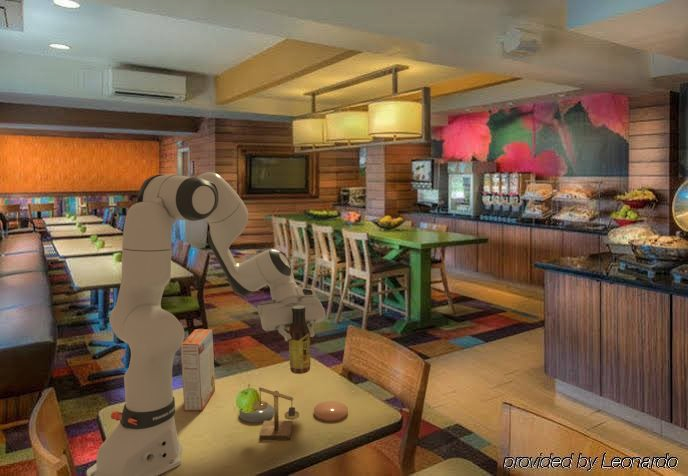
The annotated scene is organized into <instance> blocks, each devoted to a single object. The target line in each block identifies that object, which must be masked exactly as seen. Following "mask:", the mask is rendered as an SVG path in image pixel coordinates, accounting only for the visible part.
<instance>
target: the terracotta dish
mask: <svg viewBox="0 0 688 476" xmlns="http://www.w3.org/2000/svg"><path fill="white" fill-rule="evenodd" d="M348 414H349V408H348V406H347V405H346V404H344V403H342V402H340V401H333V400H332V401H331V400H329V401H328V400H327V401H323V402H322V401H321V402H320V403H318V404H316V405H315V406H314V408H313V415H314V417H315V418H317V419H319V420H321V421H323V422H325V421H326V422H335V421H336V422H337V421H341V420H343V419H345V418H347V416H348Z"/></svg>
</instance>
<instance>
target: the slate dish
mask: <svg viewBox="0 0 688 476" xmlns="http://www.w3.org/2000/svg"><path fill="white" fill-rule="evenodd" d="M239 418H240V420H241V421H242V422H245V423H249V424H260V423H264V421H271V420H272V419H273V418H274V406H272V405H271V404H269V403H268V407H267V408H265V409H262V410H256V411H254V412H252V413H244V412H242V411H241V409H240V410H239Z"/></svg>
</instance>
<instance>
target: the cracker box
mask: <svg viewBox="0 0 688 476" xmlns="http://www.w3.org/2000/svg"><path fill="white" fill-rule="evenodd" d="M213 339H214V337H213V329H212V328H211V329H206V328H205V329H204V328H203V329H202V328H198V329H195V328H194V330H193V331H192V332H191V333H190V334H189V336H187V338H186V339H184V340H183V343H182V345H181V347H180V357H181V358H180V359H181V360H180V361H181V374H182V375H181V376H182V392H183V394H182V395H183V407H184V411H187V412H188V411H195V412H196V411H197V412H201V411H203V410H204V409H205V408H206V405H207V404H208V402H209V401H210V400H211V397H212V396H213V395H214V393H215V391H216V383H215V381H216V380H215V379H216V377H215V364H214V363H215V361H214V359H215V358H214V340H213Z"/></svg>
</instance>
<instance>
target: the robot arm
mask: <svg viewBox="0 0 688 476" xmlns="http://www.w3.org/2000/svg"><path fill="white" fill-rule="evenodd" d="M178 220H179V221H191V222H195V221H200V220H201V221H202V220H206V222H207V224H208V226H209V230H208V232H207V233H206V234H207V240H208V244H209V246H210V248H211V251H212V252H213V254H214V256H215V258H216V260H217V262H218V263H219V265H220V267H221V269H222V271H223V273H224V274H225V277H226V279H227V280H228V284H229V286H230V288H231V291H233V292H234V294H236V295H238V296H241V297H246V298H247V297H249V296H250V295H252V294H254V293H256V292H257V291H258V290H260V289H262V288H264V287H266V286H268V287H269V290H270V291H269V292H270V293H269V294H270V298H271V300H268V301H260V303H258V304H257V306H256V310H257V313H258V315H259V317H260V324H261V328H262V330H264V331H265V332H271V331H276V330H277V332H278V333H279V334H280V335H281V336H282V337H283V338H284V341H285V342H289V341H290V340H291V339H292V337H291V334H290V333H289V332H287V331H286V330H285V329H289V328H290V326H291V325H292V322H293V320H292V319H293V313H292V307H293V306H297V305H302V306H305V310H306V311H305V321H306V324H307V326H308V328H309V332H310V338H311V337H312V338H313V337H314V336H315V335H316V333H315V331H314V330H315V329H314V328H315V324H319V323H320V324H321V323H322V322H323V321H324V319H326V315H327V314H326V311H325V308H324V306H323V304H322V302H321V300H320V298H318V297H316V295H317V293H316V291H315V289H312V288H305V287H301V286H298V284H297V282H296V281H295V277H294V273H293V270H292V266H291V263H290V261H289V258H288V257H287V256H286V254H285V253H284V252H283V251H281V250H278V249H275V248H269V249H267V250H264V251H263V252H260V253H258V254H256V255H255V256H251V258H249V259H247V260H244V261H242V262H236V259H235V258H234V256H233V254H232V252H231V250H230V247H231V245H232V244H233V242H235V241H236V239H237V238H239V236H241V235H242V233H243V232H244V231H245V228H246V227H247V225H248V222H249V210H248V208H247V206H246V204H245V202H244V201H243V200H242V198H241V197H240V195H239V194H238V193H237V192H236V190H235V189H234V188H233V186H231V184H229V182H227V181H226V179H224V178H223V177H222V176H220V175H219V174H218V173H216V172H213V171H211V172H210V171H207V172H203V173H201V174H199V175H198V176H196V177H195V176H193V177H192V176H187V175H181V174H156V175H152V176H151V177H147V179H145V180H144V181H143V183H142V184H141V186H140V189H139V192H138V197H137V200H136V203H134V204H132V205H131V206H130V207H128V209H127V212H126V216H125V219H124V226H123V231H122V246H121V247H122V248H121V250H122V253H121V254H122V255H121V279H120V284H119V285H120V287H119V291H118V293H117V294H118V295H117V299H116V303H115V306H114V307H113V308H112V310H111V312H110V314H109V320H108V321H109V326H110V327H111V330H112V332H113V333H114V335H115V336H116V338H118V339H119V340H120V341H123V342H124V343H125V344H127V345H128V347H129V349H130V360H129V366H128V369H127V370H125V373H124V375H123V379H124V381H123V382H124V385H123V386H124V400H125V403H124V406H123V409H122V412H121V411H118V410H113V411H112V412H111V414H110V418H111V419H112V420H115V421H116V422H118V421H119V423H118V425H117V426H116V427H115V428H114V430H113V431H112V432H111V433H110V435H109V436H108V437H107V438H106V439H105V440H104V441H103V442H102V444H101V445H100V446H99V448H98V450H97V453H96V462H95V463H94V464H93V465H91V466H90V467H89V468H88V469H87V470H86V474H85V475H86V476H159V475H161V474H164V473H166V472H168V471H170V470H172V469H174V468H176V467H178V466H179V465H181V464H182V461H181V455H182V452H183V447H182V444H181V443H180V438H179V434H178V431H177V426H176V419H175V414H176V400H175V396H173V395H174V394H173V393H174V391H173V365H174V361H175V356H176V353H177V352H178V351H179V350H180V349H181V345H182V343H183V342H184V341H185V328H184V326H183V324H182V323H181V322H180V320H178V318H177V317H176V316H175V315H174V314H173V313H172V312H170V311H168V310H165V309H163V308H162V304H161V303H162V297H163V294H164V291H165V288H166V286H167V285H168V284H169V282H170V281H171V278H172V277H171V276H172V275H171V274H172V271H171V270H172V229H173V226H174V225H175V224H174V223H176V221H178Z"/></svg>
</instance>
